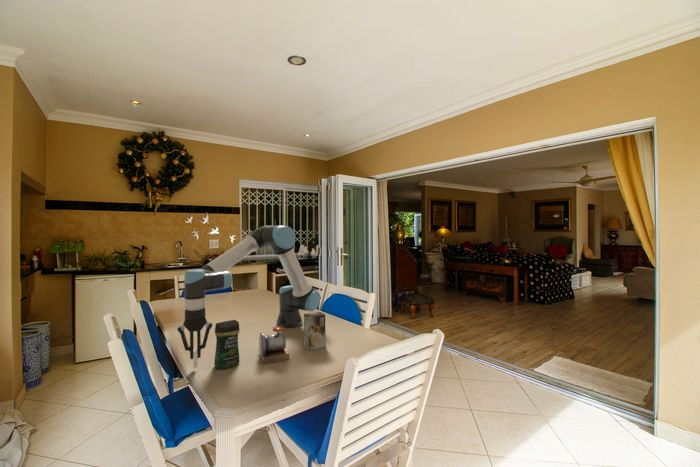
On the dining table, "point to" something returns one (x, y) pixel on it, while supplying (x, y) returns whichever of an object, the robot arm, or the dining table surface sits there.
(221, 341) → the coffee jar
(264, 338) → the valve stub
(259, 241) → the robot arm
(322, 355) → the dining table surface
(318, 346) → the coffee box
